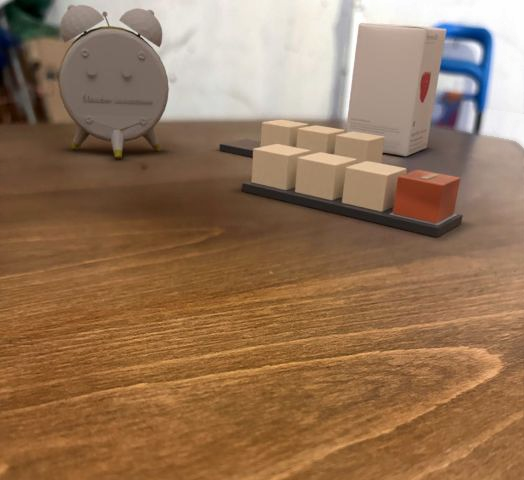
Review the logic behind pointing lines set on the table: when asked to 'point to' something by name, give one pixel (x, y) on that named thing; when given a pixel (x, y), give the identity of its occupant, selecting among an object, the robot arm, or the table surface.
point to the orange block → (426, 196)
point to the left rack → (312, 141)
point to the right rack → (335, 186)
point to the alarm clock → (113, 77)
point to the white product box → (395, 84)
